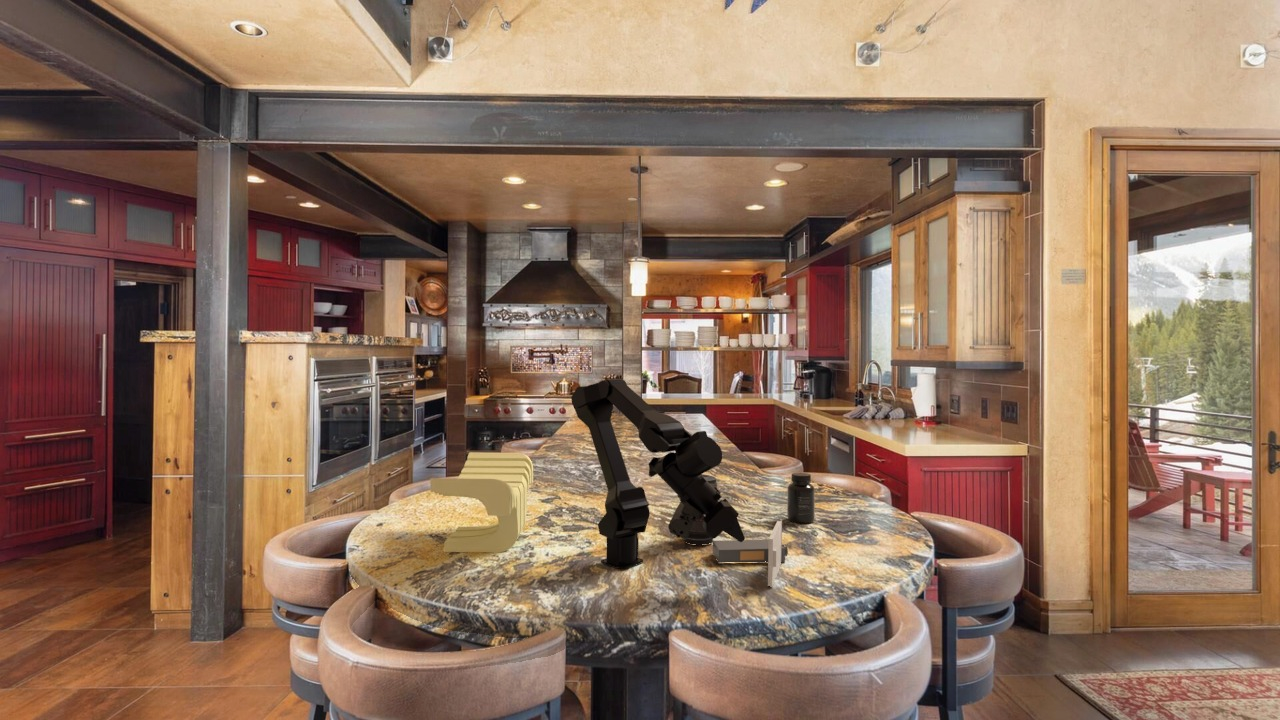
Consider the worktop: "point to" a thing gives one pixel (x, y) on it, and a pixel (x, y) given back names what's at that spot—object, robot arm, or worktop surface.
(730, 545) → the grey rectangular box
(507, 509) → the slatted curved stool
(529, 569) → the worktop surface
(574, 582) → the worktop surface
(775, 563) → the side door
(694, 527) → the camera lens
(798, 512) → the supplement bottle
